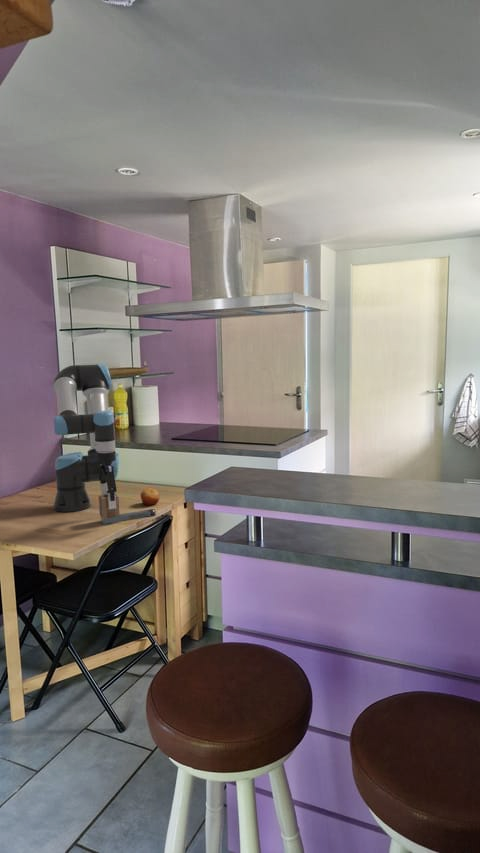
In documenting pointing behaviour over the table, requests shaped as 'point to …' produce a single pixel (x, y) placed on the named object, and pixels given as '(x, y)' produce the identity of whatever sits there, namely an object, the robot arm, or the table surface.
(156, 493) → the fruit
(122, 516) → the grey lever handle
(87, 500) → the robot arm
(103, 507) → the socket collar
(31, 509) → the table surface
